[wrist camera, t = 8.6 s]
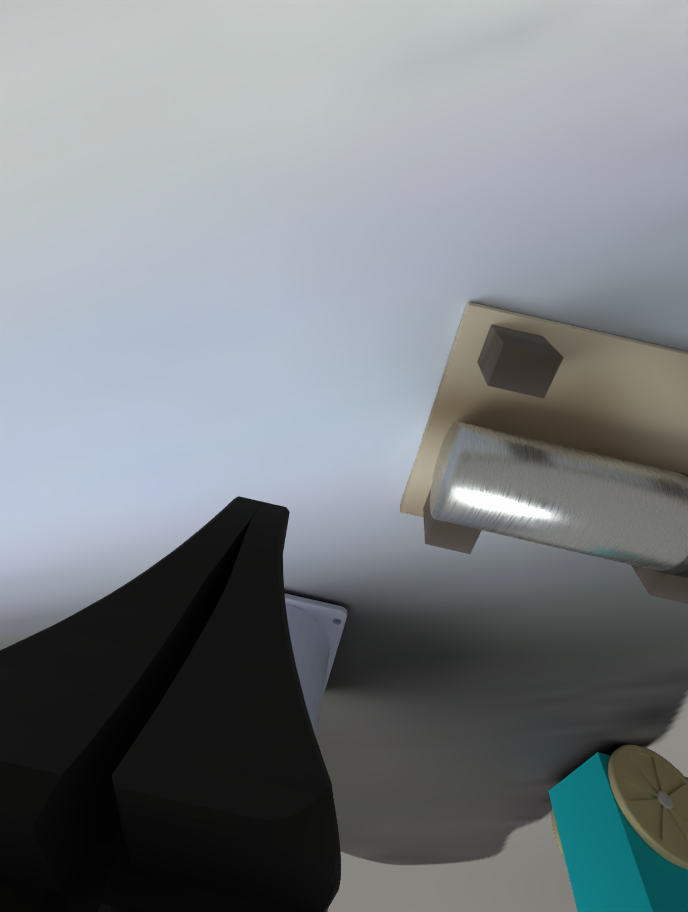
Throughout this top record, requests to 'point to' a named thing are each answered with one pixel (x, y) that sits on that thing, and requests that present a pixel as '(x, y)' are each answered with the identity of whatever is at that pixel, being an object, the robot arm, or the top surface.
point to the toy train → (624, 832)
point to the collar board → (556, 406)
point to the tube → (562, 498)
